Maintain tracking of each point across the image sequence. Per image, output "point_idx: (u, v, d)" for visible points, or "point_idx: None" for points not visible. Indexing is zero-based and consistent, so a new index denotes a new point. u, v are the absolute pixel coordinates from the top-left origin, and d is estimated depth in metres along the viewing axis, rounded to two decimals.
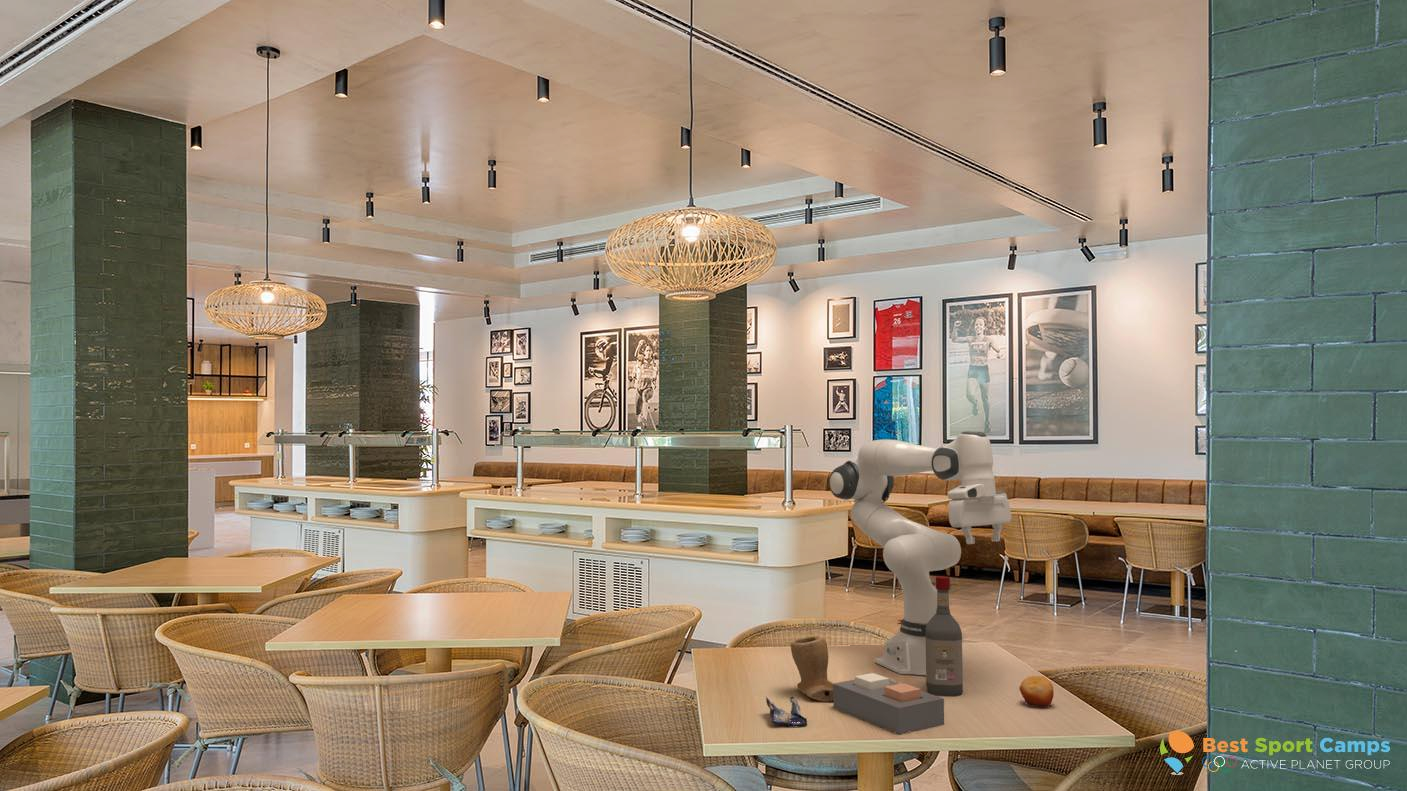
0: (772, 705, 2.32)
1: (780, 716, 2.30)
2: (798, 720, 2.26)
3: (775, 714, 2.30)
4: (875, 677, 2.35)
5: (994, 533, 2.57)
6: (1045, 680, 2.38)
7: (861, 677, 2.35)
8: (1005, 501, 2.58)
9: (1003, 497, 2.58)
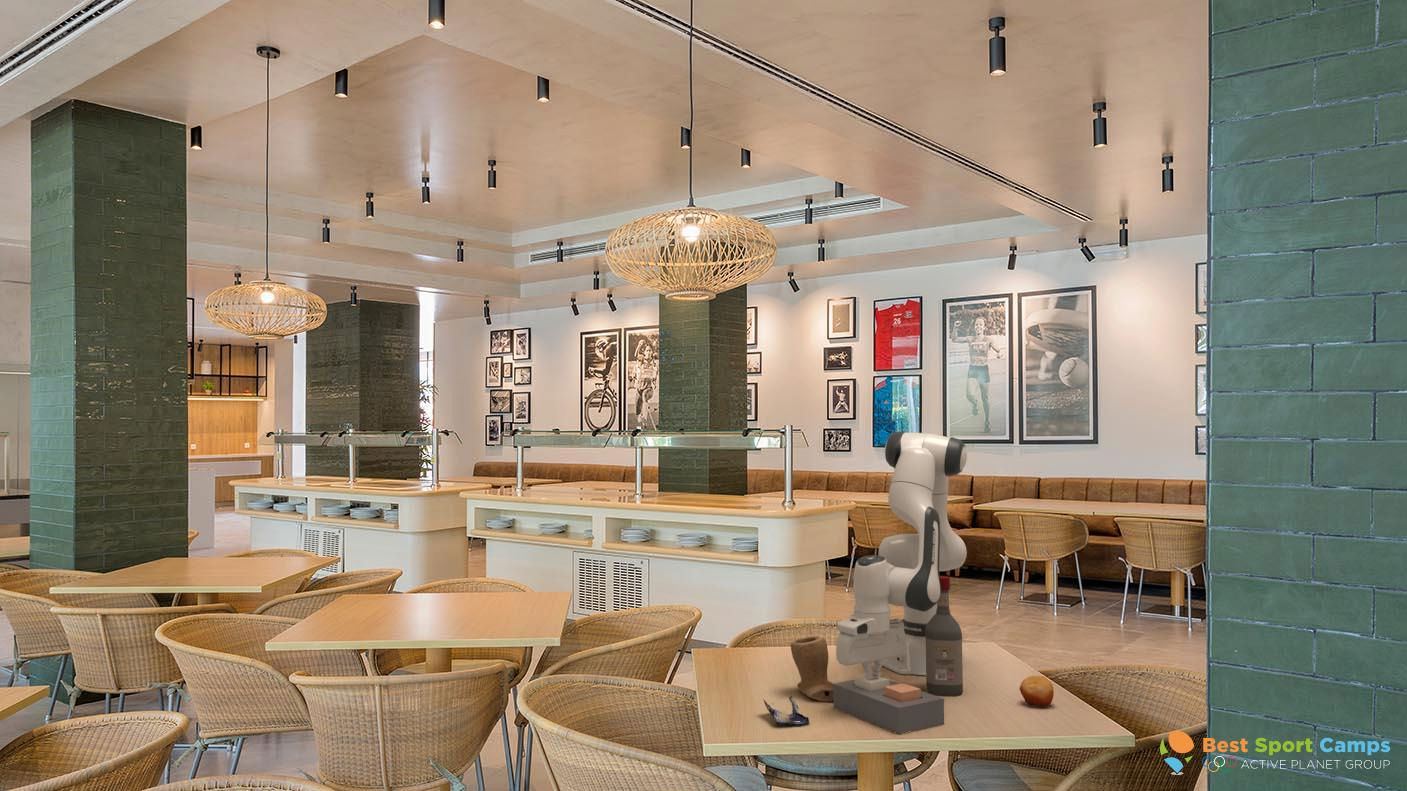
0: (769, 706, 2.31)
1: (778, 717, 2.30)
2: (798, 719, 2.27)
3: (773, 715, 2.29)
4: None
5: (874, 669, 2.36)
6: (1045, 680, 2.38)
7: (861, 678, 2.35)
8: (900, 633, 2.38)
9: (899, 628, 2.38)
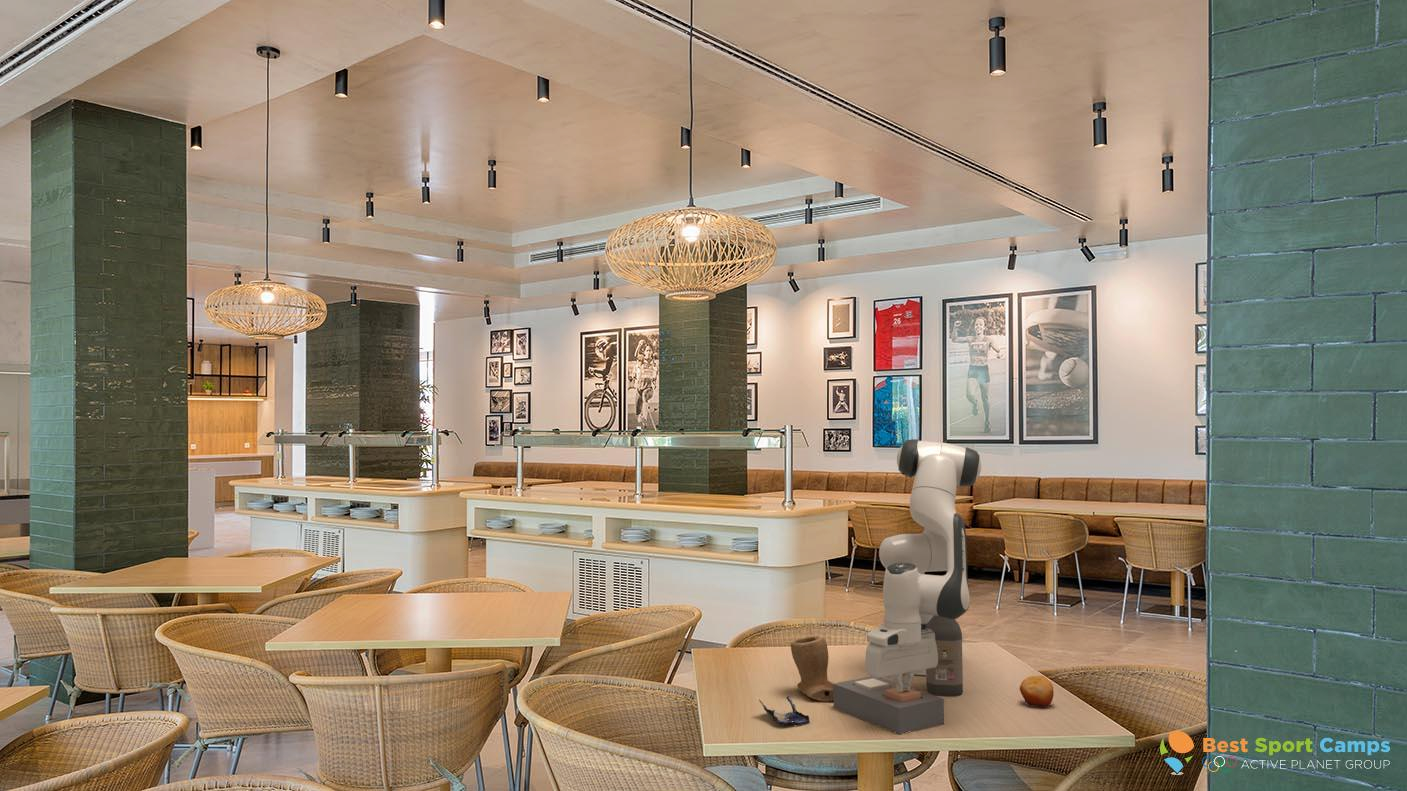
0: (765, 707, 2.31)
1: (774, 717, 2.30)
2: (796, 718, 2.28)
3: None
4: (875, 682, 2.35)
5: (904, 681, 2.27)
6: (1045, 680, 2.38)
7: (861, 682, 2.35)
8: (931, 644, 2.29)
9: (930, 639, 2.28)
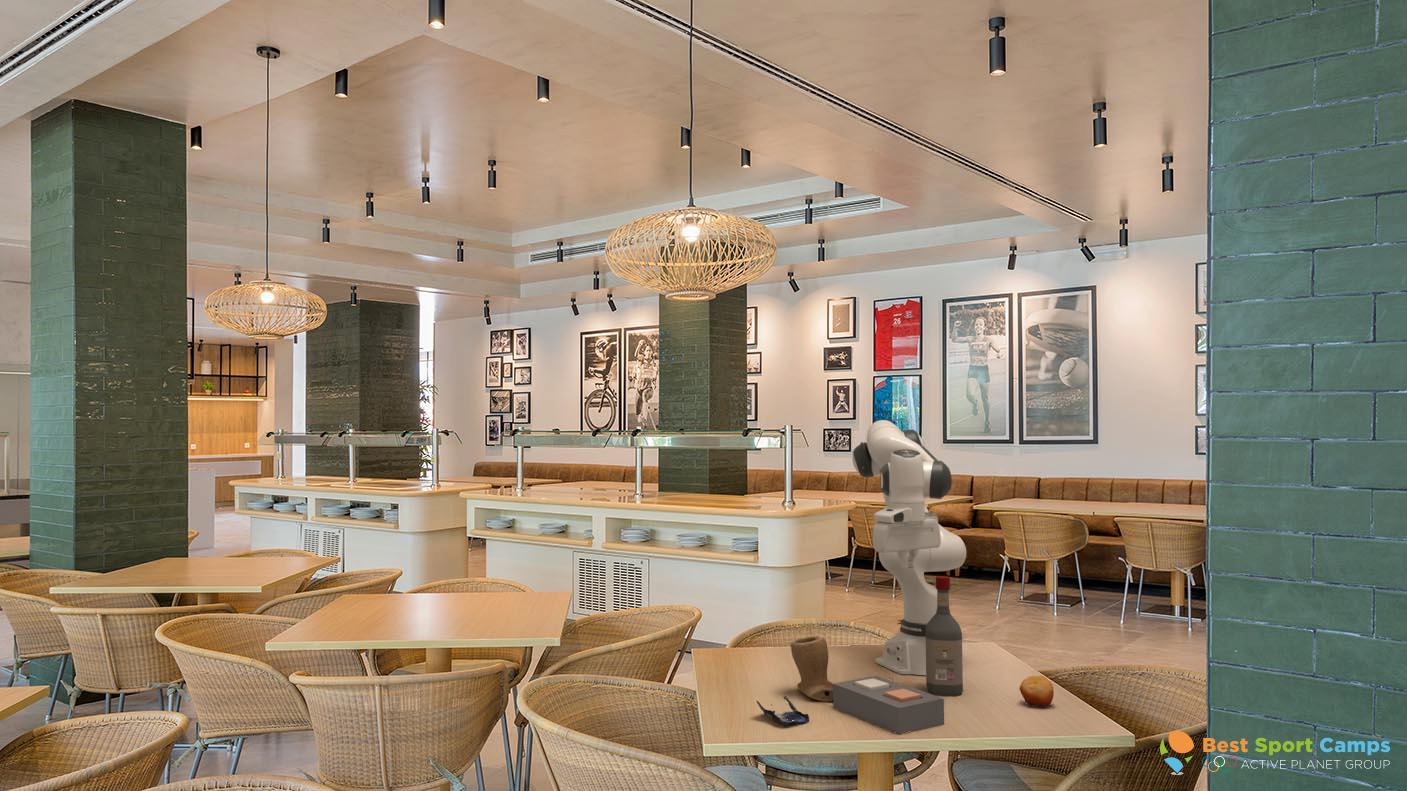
0: (762, 708, 2.30)
1: None
2: (795, 717, 2.28)
3: None
4: (875, 682, 2.35)
5: (909, 559, 2.43)
6: (1045, 680, 2.38)
7: (861, 682, 2.35)
8: (935, 525, 2.45)
9: (933, 520, 2.44)
